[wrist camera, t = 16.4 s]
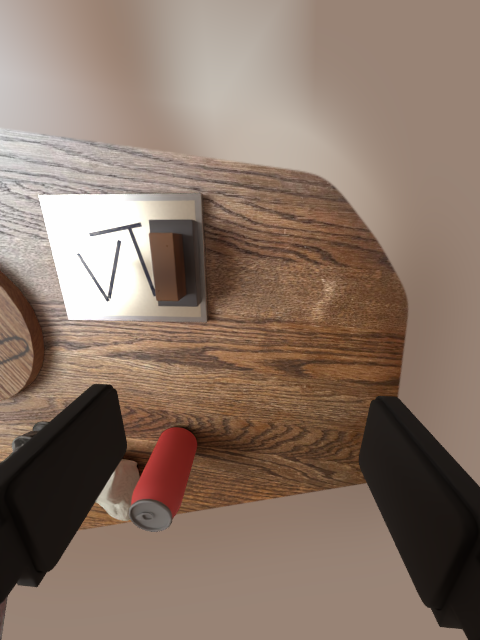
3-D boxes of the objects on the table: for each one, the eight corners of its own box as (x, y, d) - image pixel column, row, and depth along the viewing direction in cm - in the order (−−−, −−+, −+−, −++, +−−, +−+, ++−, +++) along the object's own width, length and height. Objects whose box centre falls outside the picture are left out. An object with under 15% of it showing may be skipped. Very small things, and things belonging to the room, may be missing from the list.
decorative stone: (73, 465, 41) (63, 503, 33) (125, 433, 46) (129, 459, 37) (101, 511, 44) (99, 559, 35) (149, 477, 48) (158, 511, 39)
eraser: (157, 221, 28) (133, 216, 23) (197, 221, 28) (183, 216, 22) (165, 301, 31) (146, 313, 26) (201, 302, 31) (190, 314, 26)
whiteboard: (202, 194, 28) (200, 192, 27) (208, 320, 33) (206, 322, 32) (45, 196, 29) (37, 194, 28) (73, 317, 34) (68, 320, 33)
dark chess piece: (59, 451, 43) (-12, 526, 31) (28, 437, 42) (-56, 509, 31) (67, 429, 41) (-5, 500, 30) (35, 414, 40) (-51, 482, 29)
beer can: (155, 428, 40) (115, 502, 28) (190, 421, 39) (164, 495, 27) (168, 457, 42) (136, 537, 30) (203, 451, 41) (183, 532, 29)
